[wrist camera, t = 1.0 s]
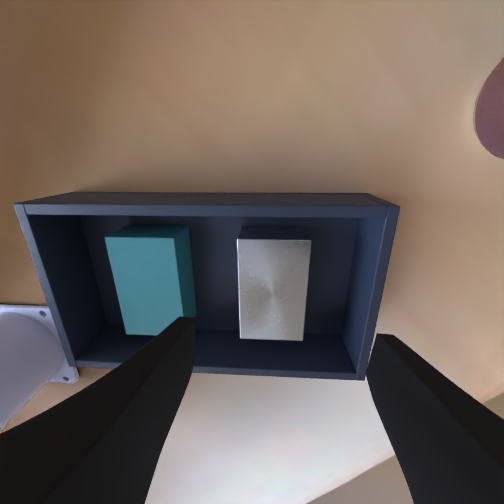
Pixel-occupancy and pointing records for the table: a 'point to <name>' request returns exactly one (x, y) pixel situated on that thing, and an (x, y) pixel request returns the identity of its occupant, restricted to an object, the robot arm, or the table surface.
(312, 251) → the box
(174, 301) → the block
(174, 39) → the table surface
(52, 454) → the robot arm
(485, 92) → the beverage can
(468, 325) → the table surface
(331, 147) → the table surface
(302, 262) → the silver metal block
